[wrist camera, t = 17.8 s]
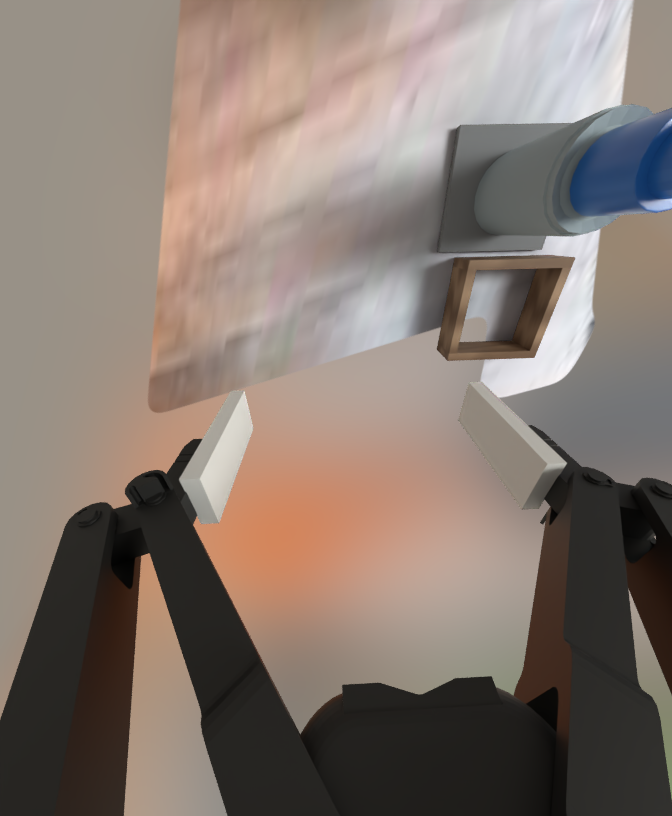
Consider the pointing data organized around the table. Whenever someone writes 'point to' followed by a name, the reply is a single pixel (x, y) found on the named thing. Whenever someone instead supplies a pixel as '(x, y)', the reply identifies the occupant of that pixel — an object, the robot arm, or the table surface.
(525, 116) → the table surface
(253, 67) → the table surface
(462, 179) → the rubber mat
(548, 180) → the spray bottle
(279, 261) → the table surface
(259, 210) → the table surface
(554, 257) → the walnut collar
